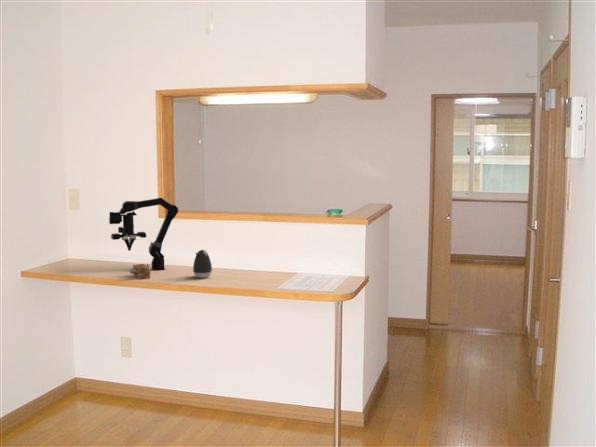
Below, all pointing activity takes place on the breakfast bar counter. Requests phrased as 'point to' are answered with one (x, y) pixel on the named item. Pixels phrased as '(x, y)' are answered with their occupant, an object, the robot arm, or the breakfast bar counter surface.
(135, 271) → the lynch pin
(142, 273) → the block
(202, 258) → the black egg-shaped device
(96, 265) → the breakfast bar counter surface
